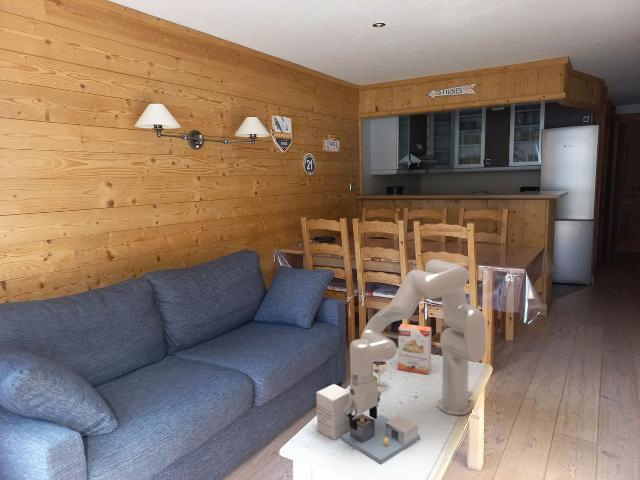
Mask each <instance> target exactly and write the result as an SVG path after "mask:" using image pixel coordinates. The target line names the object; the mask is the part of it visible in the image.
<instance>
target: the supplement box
mask: <svg viewBox="0 0 640 480" xmlns="http://www.w3.org/2000/svg"><path fill="white" fill-rule="evenodd" d="M315 396H316V419H317V421H316V422H317V423H316V426H317V431H318V432H319V433H322V434H323V435H325V436H326V437H328V438H330V439H332V440H334V441H335V440H337V439H339V438H340V437H341V438H342V435H344V434H346V433H348V432H350V424H349V417H348V416H346V415H345V413H344V411H343V409H344V408H345V407H346V406H347V404H348V403H349V390H348V389H345V388H343V387H341V386H339V385H337V384H335V383H333V384H331V385H329V386H327V387H324V388H322V389H321V390H318V391H316V395H315Z"/></svg>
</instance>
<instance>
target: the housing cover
mask: <svg viewBox="0 0 640 480" xmlns="http://www.w3.org/2000/svg"><path fill="white" fill-rule="evenodd" d="M397 434H398V442H400V443H401V444H403V445H405V444H407V443H408V442H410V441H411V440H413V439H414V438H416V437H417V434H418V424H417V423H415V422H413V421H411V420H409V419H408V418H405V417H403V416H401V415H397V416H395V417H394V418H392V419H390V421H388V422H386V435H387V436H389V437H391V438H392V437H394V436H395V435H397Z"/></svg>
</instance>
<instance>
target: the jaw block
mask: <svg viewBox="0 0 640 480" xmlns="http://www.w3.org/2000/svg"><path fill="white" fill-rule="evenodd" d="M361 417H363V418H364V423H360V418H361ZM356 419H357V428H358V429H357V430H354V429H352V428H350V431H349V432H350V436H351V437H353V438H355V439H356V440H358V441H359V442H361V443H364V442H366V441H368V440H369V439H371V438H373V437H375V420H373V419H374V418H372V417H371V416H367V415H366V414H364V413H361V414H358V415H357V417H356Z"/></svg>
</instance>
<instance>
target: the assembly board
mask: <svg viewBox="0 0 640 480" xmlns="http://www.w3.org/2000/svg"><path fill="white" fill-rule="evenodd" d="M372 419H373V420H375V437H373V438H371V439H369V440H368V441H366V442H364V443H361V442H359V441H358V440H356V439H355V438H353V437H351V436H350V431H349V432H347V433H346V434H344V435H342V436H341V441H343V442H345V443H346V444H348V445H350V446H351V447H353V448H354V449H356V450H358V451H359V452H360V453H362V454H364V455H365V456H367V457H368V458H369V459H372V460H373V461H375V462H376V463H378V464H379V465H382V464H383V463H385V462H387V461H389V460H390V459H391V458H393V457H394V456H396V455H397V454H399V453H401V452H402V451H404V450H406V449H407V448H409V447H410V446H411V445H413V444H414V443H416V442H418V441H419V440H420V439H421V435H420V434H418V433H417V437H416V438H414V439H413V440H411V441H410V442H408V443H407V444H405V445H403V444H401V443H400V442H398V434H397V435H395V436H394V437H392V438H391V437H389V436H387V435H386V422H388V421H390V420H391V419H390V418H388V417H386V416H384V415H382V414H379V415H377V419H374V418H372ZM360 423H364V418H363V417H361V418H360Z"/></svg>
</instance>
